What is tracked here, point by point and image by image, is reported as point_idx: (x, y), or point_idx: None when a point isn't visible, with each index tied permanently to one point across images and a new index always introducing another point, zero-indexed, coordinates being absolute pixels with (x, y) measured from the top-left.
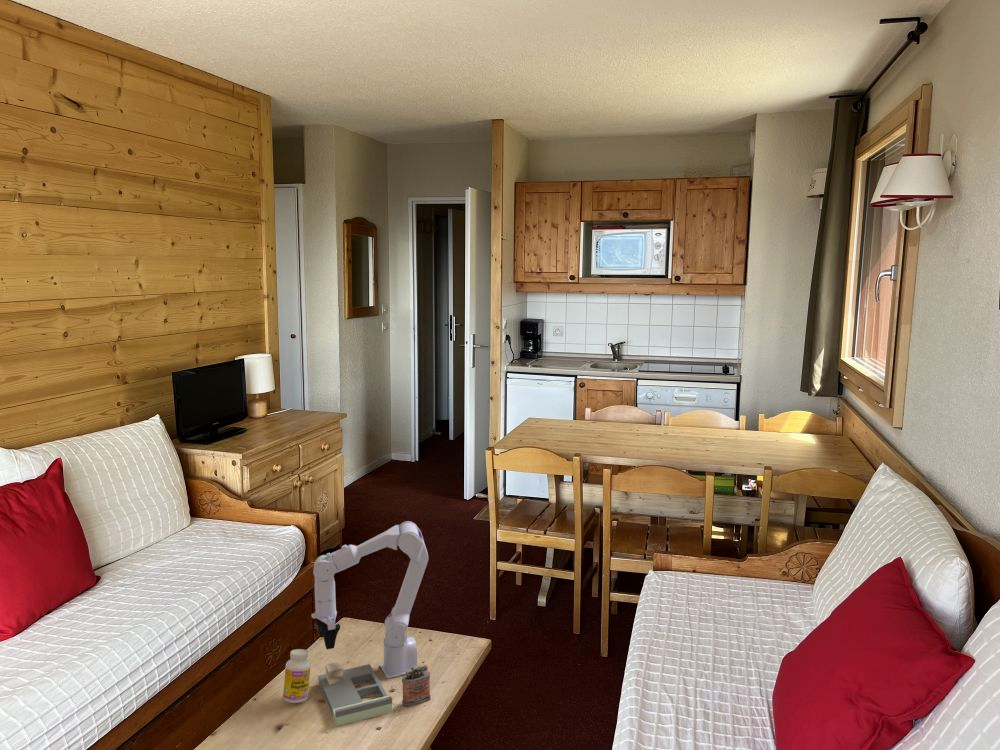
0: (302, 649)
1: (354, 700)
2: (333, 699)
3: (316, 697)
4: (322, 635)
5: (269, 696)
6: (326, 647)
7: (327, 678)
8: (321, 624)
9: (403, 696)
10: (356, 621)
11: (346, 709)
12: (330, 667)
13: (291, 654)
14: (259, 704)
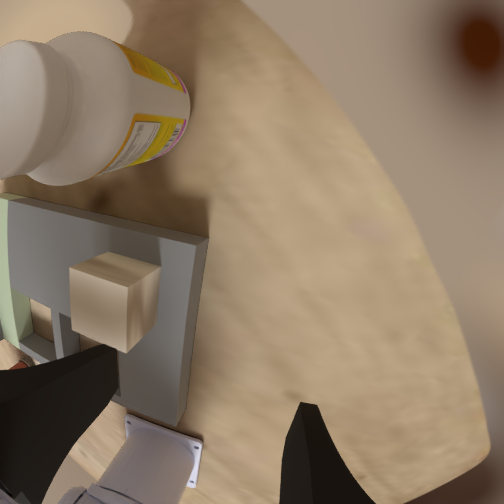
0: (26, 146)
1: (17, 273)
2: (36, 223)
3: (127, 192)
4: (295, 421)
5: (242, 39)
6: (90, 348)
7: (124, 261)
8: (296, 498)
9: (12, 368)
10: (469, 467)
11: None
12: (93, 292)
13: (1, 49)
14: (212, 4)
